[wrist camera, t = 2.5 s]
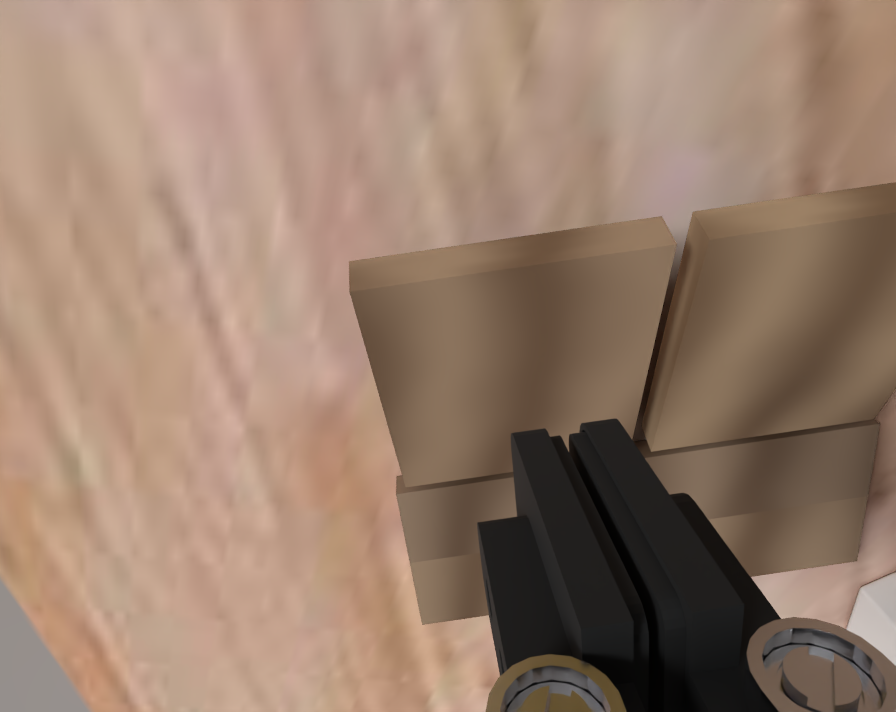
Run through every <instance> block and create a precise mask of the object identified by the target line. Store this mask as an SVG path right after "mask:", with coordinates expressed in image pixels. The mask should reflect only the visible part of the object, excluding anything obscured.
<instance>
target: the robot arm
mask: <svg viewBox="0 0 896 712" xmlns="http://www.w3.org/2000/svg"><path fill="white" fill-rule="evenodd" d="M511 452H512V464H513V475H514V487H515V499H516V510H517V517H511V518H504V519H497V520H490V521H484V522H477V530H478V540H479V548H480V557H481V565H482V573H483V580H484V587H485V593H486V600H487V606H488V612H489V618H490V623H491V629H492V634H493V640H494V645H495V650H496V656H497V661H498V667H499V672H500V677H499V678H498V680H497V681H496V683H495V685H494V686H493V688H492V690H491V692H490V693H489V697H488V703H487V708H486V712H896V666H895V665H894V664H893V663H892V662H891V661H890V660H889V659H888V658H887V657H886V656H885V655H884V654H883V653H881V652H880V651H879V650H878V649H876V648H875V647H874V646H872V645H871V644H870V643H868V642H867V641H866V640H864V639H863V638H862V637H860V636H858V635H856V634H854V633H852V632H850V631H848V630H846V629H844V628H842V627H840V626H837V625H834V624H831V623H827V622H824V621H820V620H817V619H808V618H797V617H792V618H785V619H781V618H780V617H779V615H778V614H777V613H776V611H775V610H774V609H773V607H772V606H771V604H770V603H769V602H768V600H767V599H766V598H765V596H764V595H763V594H762V592H761V591H760V589H759V588H758V587H757V585H756V584H755V583H754V581H753V580H752V579H751V577H750V576H749V574H748V573H747V572H746V570H745V569H744V568H743V566H742V565H741V564H740V562H739V561H738V559H737V558H736V557H735V555H734V554H733V553H732V551H731V550H730V549H729V547H728V546H727V544H726V543H725V542H724V540H723V539H722V538H721V536H720V535H719V534H718V532H717V531H716V529H715V528H714V527H713V525H712V524H711V523H710V521H709V520H708V519H707V517H706V516H705V514H704V513H703V512H702V510H701V509H700V508H699V506H698V505H697V503H696V502H695V501H694V500H693V499H692V498H691V497H690V495H689V494H686V493H677V494H670V495H669V493H668V492H667V490H666V489H665V487H664V486H663V484H662V483H661V481H660V480H659V478H658V477H657V476H656V474H655V473H654V471H653V470H652V468H651V467H650V465H649V464H648V462H647V461H646V459H645V458H644V456H643V455H642V454H641V452H640V451H639V449H638V448H637V446H636V445H635V443H634V442H633V440H632V439H631V437H630V436H629V434H628V433H627V432H626V430H625V429H624V427H623V426H622V424H621V423H620V421H619V420H618V419H615V418H614V419H607V420H600V421H593V422H586V423H581V425H580V430H579V433H573V434H570V435H569V451H568V449H567V447H566V445H565V443H564V441H563V439H562V437H561V436H560V435H558V436H551V437H550V436H549V434H548V431H547V430H546V429H545V428H543V429H536V430H529V431H522V432H515V433H511Z"/></svg>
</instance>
